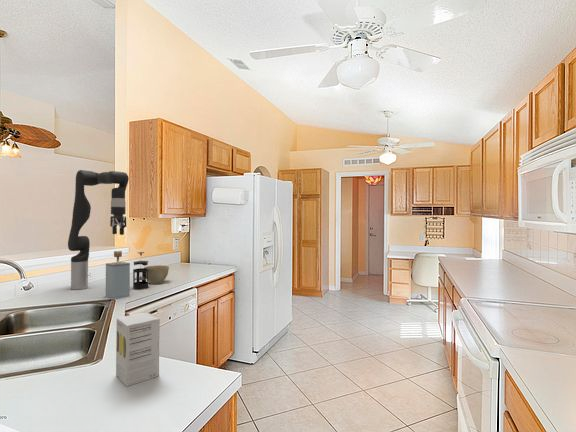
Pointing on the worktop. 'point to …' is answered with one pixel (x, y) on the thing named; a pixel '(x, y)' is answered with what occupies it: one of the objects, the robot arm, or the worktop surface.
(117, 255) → the plunger
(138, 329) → the supplement box
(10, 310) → the worktop surface
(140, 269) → the french press
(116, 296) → the block
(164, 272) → the planter bowl
